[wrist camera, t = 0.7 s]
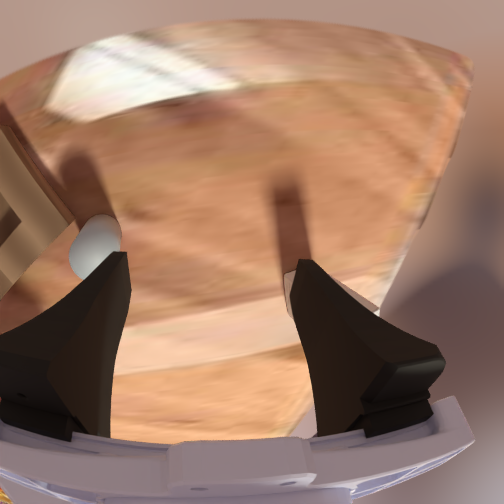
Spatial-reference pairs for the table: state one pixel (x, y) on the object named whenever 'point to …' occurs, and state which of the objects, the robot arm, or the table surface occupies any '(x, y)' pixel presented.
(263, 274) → the table surface
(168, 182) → the table surface
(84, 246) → the peg
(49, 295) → the table surface
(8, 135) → the walnut socket block
